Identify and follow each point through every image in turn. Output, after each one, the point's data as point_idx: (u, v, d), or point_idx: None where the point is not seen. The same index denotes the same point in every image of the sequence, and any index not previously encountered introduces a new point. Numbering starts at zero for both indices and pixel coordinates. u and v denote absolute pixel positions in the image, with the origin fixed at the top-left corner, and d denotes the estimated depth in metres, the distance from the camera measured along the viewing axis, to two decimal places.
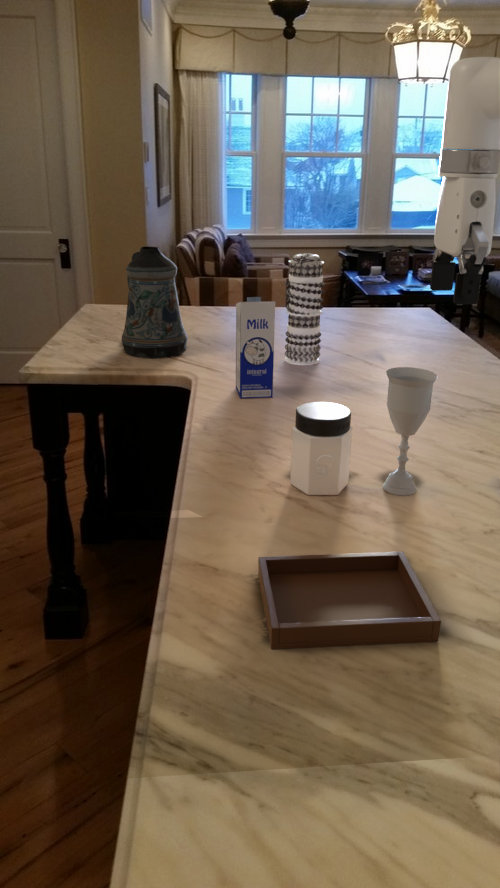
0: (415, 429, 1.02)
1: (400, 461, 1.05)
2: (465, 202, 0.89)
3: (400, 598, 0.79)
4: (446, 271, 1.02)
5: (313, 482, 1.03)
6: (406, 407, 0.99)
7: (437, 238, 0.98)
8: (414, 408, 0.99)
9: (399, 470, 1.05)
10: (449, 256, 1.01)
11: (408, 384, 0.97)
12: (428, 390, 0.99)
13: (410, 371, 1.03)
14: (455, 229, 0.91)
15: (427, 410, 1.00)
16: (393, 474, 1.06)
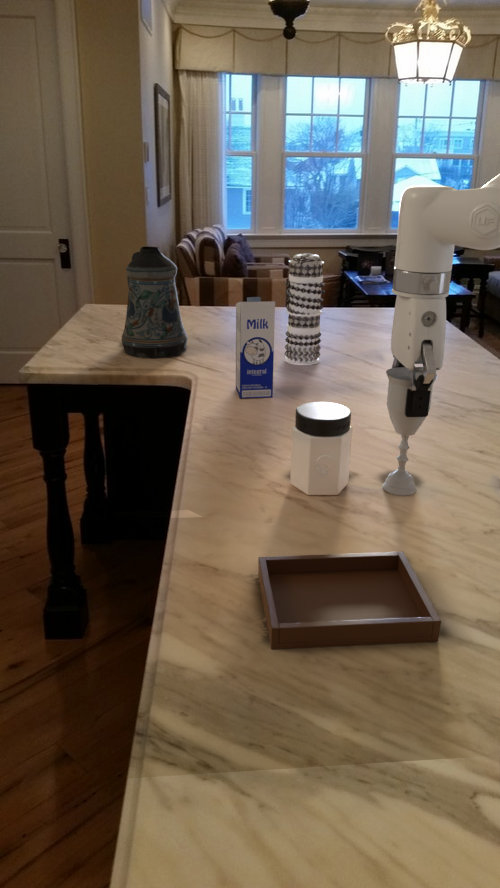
0: (415, 429, 1.02)
1: (400, 461, 1.05)
2: (416, 322, 0.92)
3: (400, 598, 0.79)
4: None
5: (313, 482, 1.03)
6: None
7: (393, 346, 1.01)
8: None
9: (399, 470, 1.05)
10: None
11: (408, 384, 0.98)
12: None
13: None
14: (408, 345, 0.94)
15: None
16: (393, 474, 1.06)
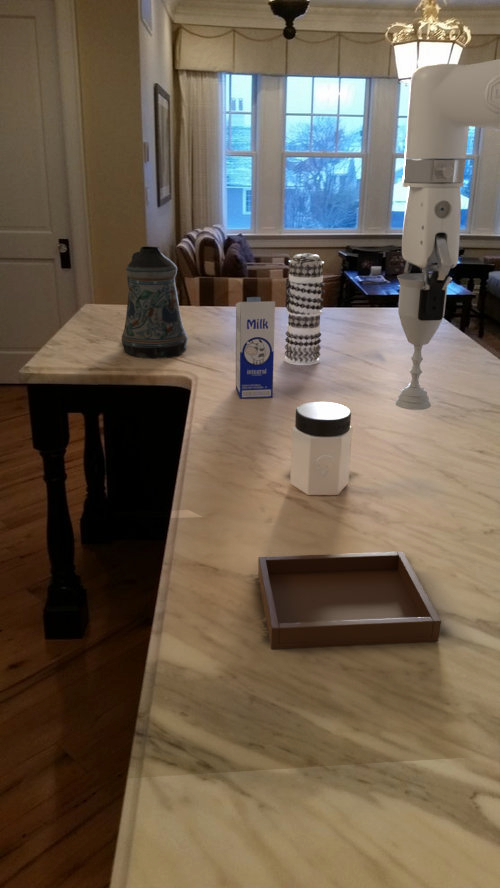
0: (429, 337, 0.96)
1: (413, 374, 0.99)
2: (429, 213, 0.87)
3: (400, 598, 0.79)
4: None
5: (313, 482, 1.03)
6: None
7: (404, 249, 0.96)
8: None
9: (412, 384, 1.00)
10: (420, 272, 0.98)
11: (421, 286, 0.92)
12: None
13: (422, 277, 0.98)
14: (420, 240, 0.89)
15: None
16: (406, 389, 1.00)
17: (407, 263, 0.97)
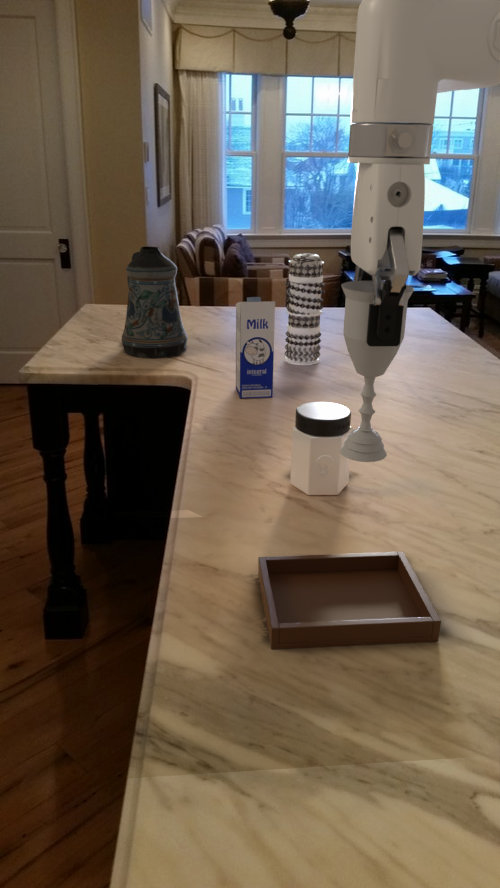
0: (383, 367, 0.72)
1: (363, 414, 0.75)
2: (381, 199, 0.62)
3: (400, 598, 0.79)
4: None
5: (313, 482, 1.03)
6: None
7: (353, 249, 0.71)
8: None
9: (362, 427, 0.75)
10: None
11: (371, 299, 0.68)
12: None
13: None
14: (369, 237, 0.64)
15: None
16: (354, 433, 0.76)
17: (357, 267, 0.73)
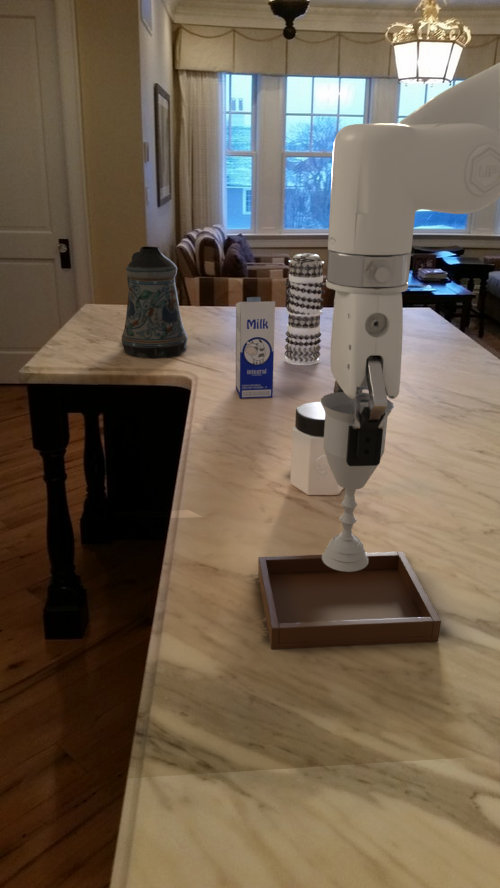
0: (363, 481, 0.71)
1: (345, 524, 0.74)
2: (358, 329, 0.62)
3: (400, 598, 0.79)
4: None
5: (313, 482, 1.03)
6: None
7: (332, 363, 0.71)
8: None
9: (343, 535, 0.75)
10: None
11: (350, 419, 0.67)
12: None
13: None
14: (347, 363, 0.64)
15: None
16: (335, 540, 0.76)
17: None
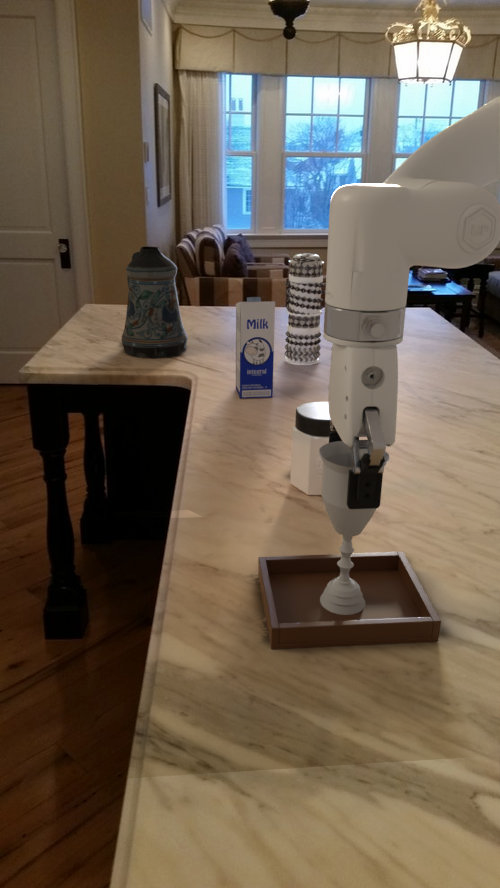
0: (360, 528, 0.73)
1: (342, 568, 0.77)
2: (355, 381, 0.64)
3: (400, 598, 0.79)
4: None
5: (313, 482, 1.03)
6: (346, 501, 0.71)
7: (330, 408, 0.73)
8: None
9: (341, 579, 0.77)
10: None
11: (347, 471, 0.69)
12: None
13: None
14: (344, 413, 0.66)
15: None
16: (333, 584, 0.78)
17: None
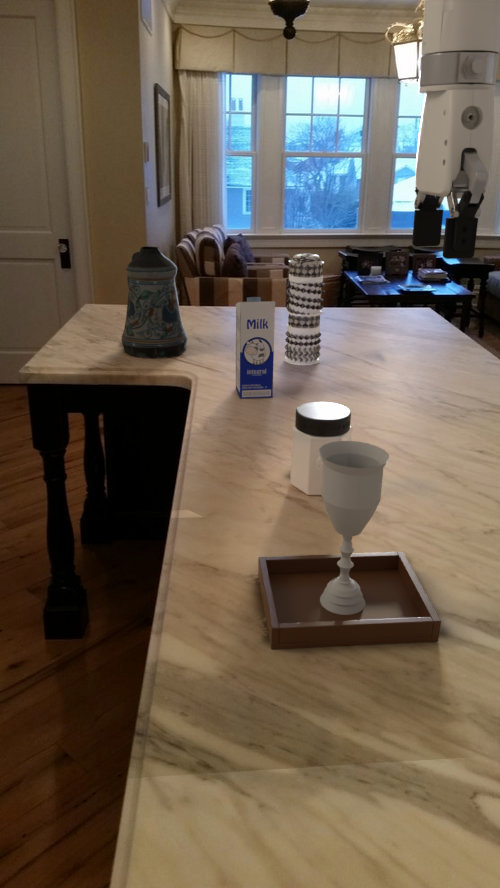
0: (360, 528, 0.73)
1: (342, 568, 0.77)
2: (455, 122, 0.68)
3: (400, 598, 0.79)
4: (431, 221, 0.80)
5: (313, 482, 1.03)
6: (346, 501, 0.71)
7: (419, 177, 0.77)
8: (356, 503, 0.71)
9: (341, 579, 0.77)
10: (435, 202, 0.80)
11: (347, 471, 0.69)
12: (376, 478, 0.70)
13: (354, 447, 0.75)
14: (443, 160, 0.70)
15: (375, 504, 0.72)
16: (333, 584, 0.78)
17: None
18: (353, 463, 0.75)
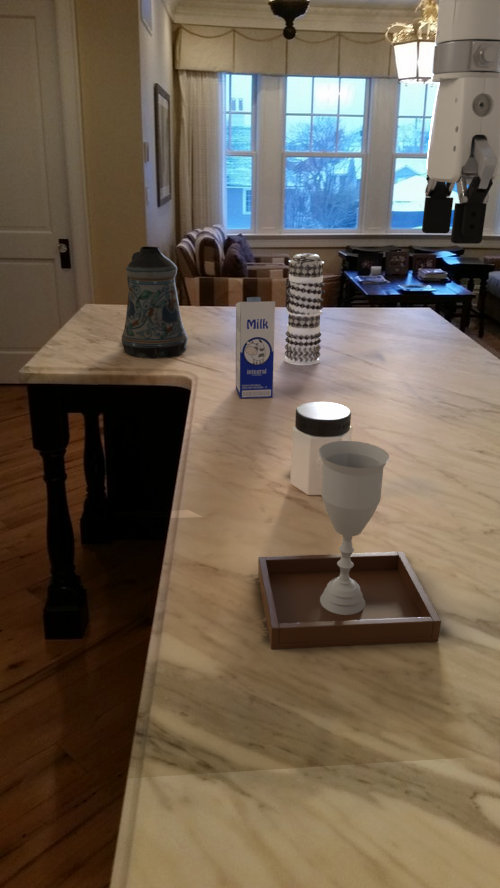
0: (360, 528, 0.73)
1: (342, 568, 0.77)
2: (466, 109, 0.70)
3: (400, 598, 0.79)
4: (441, 209, 0.82)
5: (313, 482, 1.03)
6: (346, 501, 0.71)
7: (430, 164, 0.78)
8: (356, 503, 0.71)
9: (341, 579, 0.77)
10: (445, 190, 0.82)
11: (347, 471, 0.69)
12: (376, 478, 0.70)
13: (353, 447, 0.75)
14: (453, 146, 0.72)
15: (375, 504, 0.72)
16: (333, 584, 0.78)
17: None
18: (353, 463, 0.75)
